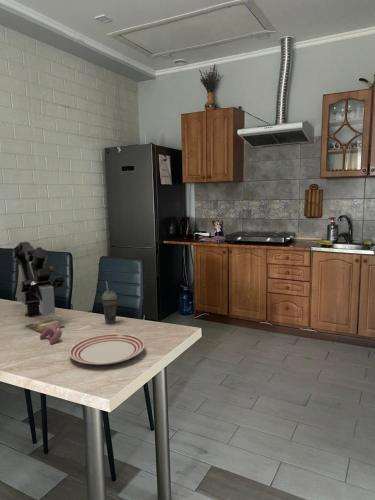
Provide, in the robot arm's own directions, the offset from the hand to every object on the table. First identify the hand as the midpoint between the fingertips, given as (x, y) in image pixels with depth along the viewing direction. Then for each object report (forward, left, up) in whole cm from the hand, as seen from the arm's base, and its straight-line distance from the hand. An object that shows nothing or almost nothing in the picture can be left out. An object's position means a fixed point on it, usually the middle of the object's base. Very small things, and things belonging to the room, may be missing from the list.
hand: (47, 299), depth 169 cm
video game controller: (+15, -8, -14) cm, 22 cm away
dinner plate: (+45, -2, -14) cm, 47 cm away
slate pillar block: (-1, 0, -7) cm, 7 cm away
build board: (-3, -1, -13) cm, 14 cm away
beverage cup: (+16, +22, -14) cm, 30 cm away
